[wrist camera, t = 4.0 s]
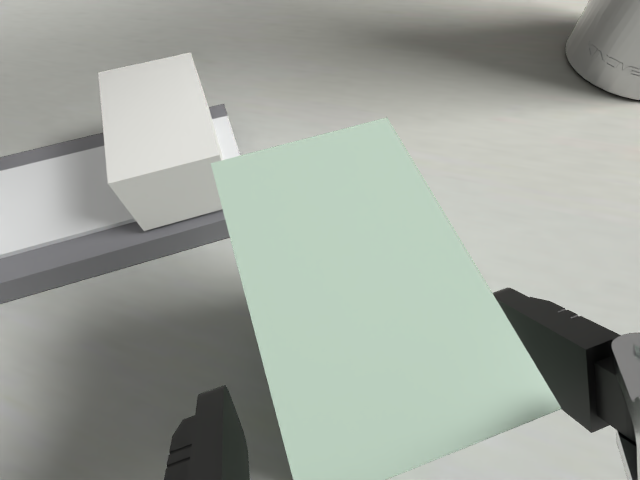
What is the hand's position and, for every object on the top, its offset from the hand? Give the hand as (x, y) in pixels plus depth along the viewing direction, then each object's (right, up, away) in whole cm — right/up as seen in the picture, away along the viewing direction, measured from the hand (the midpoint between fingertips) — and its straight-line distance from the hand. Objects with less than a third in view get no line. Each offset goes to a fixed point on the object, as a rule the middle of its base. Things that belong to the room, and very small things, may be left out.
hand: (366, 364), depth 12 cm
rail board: (-16, +5, +12) cm, 21 cm away
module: (0, -3, +8) cm, 8 cm away
